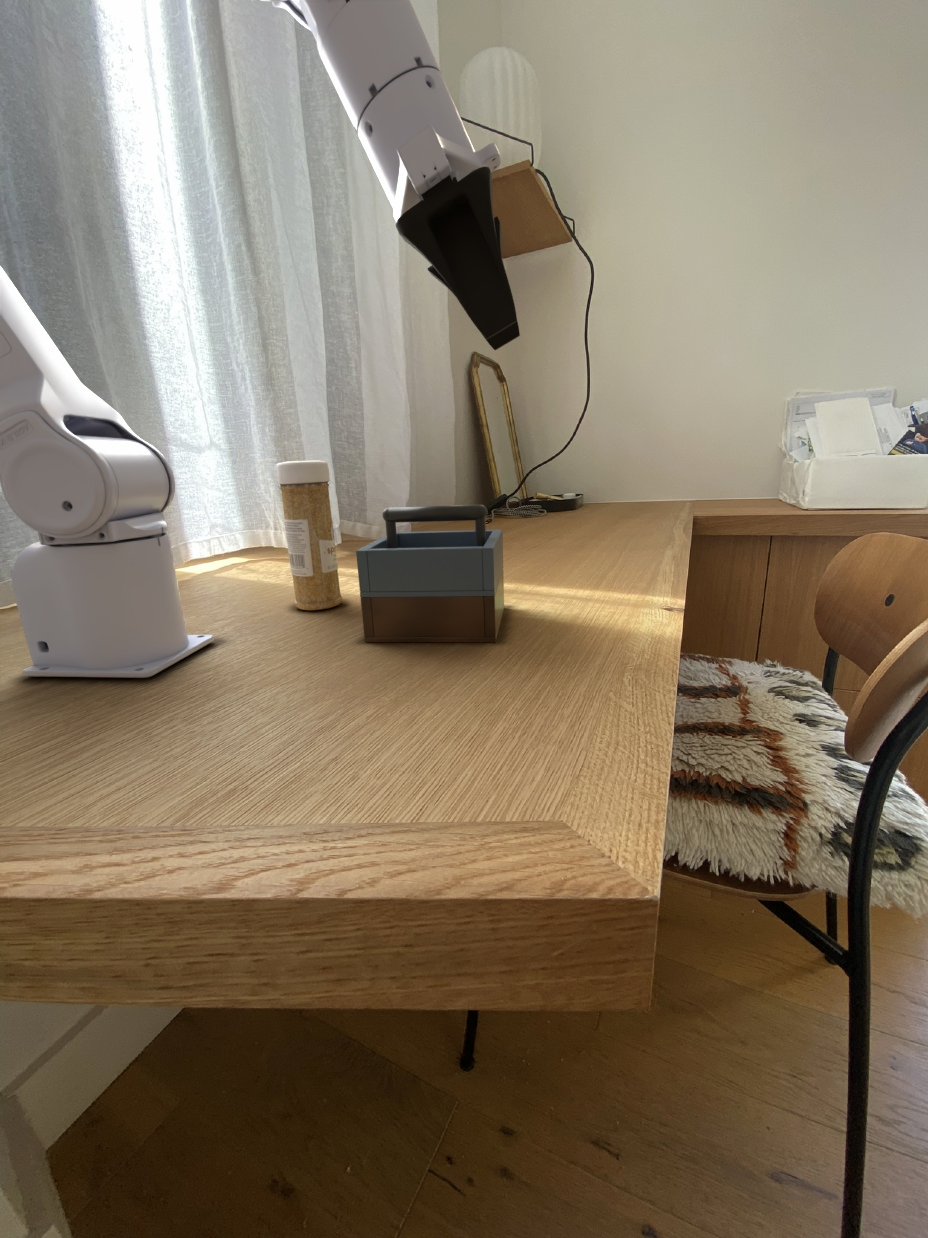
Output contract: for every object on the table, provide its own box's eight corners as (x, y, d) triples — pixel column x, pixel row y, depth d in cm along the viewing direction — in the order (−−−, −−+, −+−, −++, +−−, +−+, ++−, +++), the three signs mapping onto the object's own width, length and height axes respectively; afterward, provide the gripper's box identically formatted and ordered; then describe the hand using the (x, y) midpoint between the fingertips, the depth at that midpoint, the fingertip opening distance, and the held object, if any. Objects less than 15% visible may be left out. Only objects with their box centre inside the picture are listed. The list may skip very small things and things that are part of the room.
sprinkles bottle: (349, 605, 53) (335, 459, 49) (302, 614, 51) (283, 461, 47) (332, 597, 57) (317, 460, 53) (288, 604, 54) (269, 462, 51)
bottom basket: (364, 642, 42) (360, 597, 41) (396, 607, 52) (393, 570, 51) (495, 642, 41) (494, 596, 40) (504, 607, 50) (503, 569, 49)
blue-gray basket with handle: (360, 597, 41) (352, 514, 40) (393, 570, 51) (388, 502, 49) (494, 596, 40) (492, 510, 38) (503, 569, 49) (501, 498, 48)
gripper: (441, -29, 25) (568, 279, 28) (473, 123, 38) (556, 318, 42) (313, 76, 27) (448, 352, 30) (386, 185, 40) (474, 367, 44)
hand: (504, 337), depth 36 cm, fingers open, 7 cm apart
